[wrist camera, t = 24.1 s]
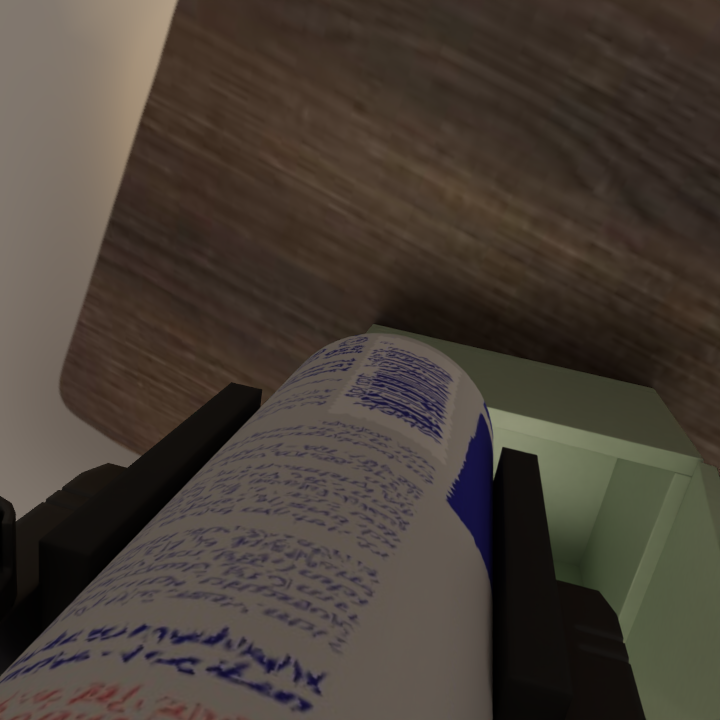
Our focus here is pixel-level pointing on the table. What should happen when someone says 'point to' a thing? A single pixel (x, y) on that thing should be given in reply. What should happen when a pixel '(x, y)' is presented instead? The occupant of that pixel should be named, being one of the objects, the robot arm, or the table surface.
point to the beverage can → (301, 564)
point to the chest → (588, 464)
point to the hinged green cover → (683, 613)
